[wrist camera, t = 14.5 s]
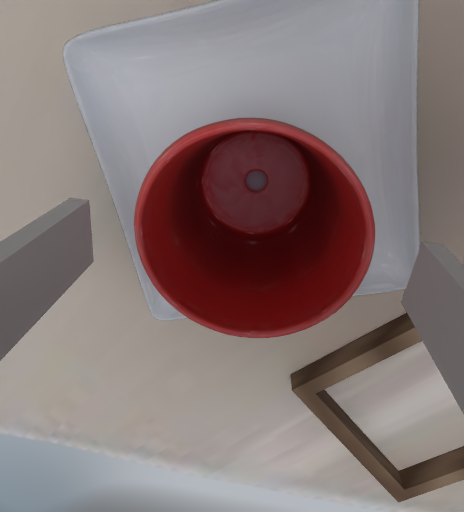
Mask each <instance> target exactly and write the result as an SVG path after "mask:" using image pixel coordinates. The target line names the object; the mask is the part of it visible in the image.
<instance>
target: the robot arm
mask: <svg viewBox="0 0 464 512" xmlns="http://www.w3.org/2000/svg"><path fill="white" fill-rule="evenodd" d="M92 263H93V248H92V234H91V221H90V207H89V200H83V199H75V198H69V199H68V200H66V201H65V202H63V203H61V204H60V205H58V206H57V207H55V208H54V209H52V210H50V211H49V212H47V213H46V214H44V215H42V216H41V217H39V218H38V219H36V220H34V221H33V222H31V223H30V224H28V225H26V226H25V227H23V228H22V229H20V230H19V231H17V232H15V233H14V234H12V235H11V236H9V237H7V238H6V239H4V240H3V241H1V242H0V361H1V359H2V358H3V357H4V356H5V355H6V354H7V353H8V352H9V351H10V350H11V349H12V348H13V347H14V346H15V345H16V344H17V342H18V341H19V340H20V339H21V338H22V337H23V336H24V335H25V334H26V333H27V332H28V331H29V330H30V329H31V328H32V326H33V325H34V324H35V323H36V322H37V321H38V320H39V319H40V318H41V317H42V316H43V315H44V314H45V313H46V312H47V310H48V309H49V308H50V307H51V306H52V305H53V304H54V303H55V302H56V301H57V300H58V299H59V298H60V297H61V296H62V294H63V293H64V292H65V291H66V290H67V289H68V288H69V287H70V286H71V285H72V284H73V283H74V282H75V281H76V280H77V279H78V277H79V276H80V275H81V274H82V273H83V272H84V271H85V270H86V269H87V268H88V267H89V266H90V265H91V264H92ZM401 303H402V304H403V306H404V308H405V310H406V312H407V313H408V315H409V317H410V319H411V321H412V322H413V324H414V326H415V328H416V330H417V331H418V333H419V335H420V337H421V339H422V340H423V342H424V344H425V346H426V348H427V349H428V351H429V353H430V355H431V356H432V358H433V360H434V362H435V364H436V365H437V367H438V369H439V371H440V373H441V374H442V376H443V378H444V380H445V382H446V383H447V385H448V387H449V389H450V391H451V392H452V394H453V396H454V398H455V400H456V401H457V403H458V405H459V407H460V409H461V410H462V412H463V414H464V266H463V265H462V264H461V263H460V262H459V261H458V260H457V259H456V258H455V257H454V256H453V255H452V254H451V253H450V252H449V251H448V250H447V249H446V248H445V247H444V246H443V245H442V244H435V243H427V242H422V244H421V247H420V249H419V252H418V255H417V258H416V261H415V264H414V267H413V269H412V272H411V275H410V278H409V281H408V284H407V287H406V290H405V292H404V295H403V298H402V301H401Z"/></svg>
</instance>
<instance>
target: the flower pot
mask: <svg viewBox="0 0 464 512" xmlns="http://www.w3.org/2000/svg"><path fill="white" fill-rule="evenodd" d="M134 231H135V240H136V246H137V250H138V253H139V257H140V260H141V262H142V265H143V267H144V269H145V271H146V273H147V275H148V277H149V279H150V280H151V282H152V284H153V285H154V287H155V288H156V289H157V291H158V292H159V293H160V294H161V296H162V297H163V298H164V299H165V300H166V301H167V302H168V303H169V304H170V305H171V306H173V307H174V308H175V309H176V310H177V311H179V312H180V313H182V314H183V315H184V316H186V317H188V318H189V319H191V320H193V321H194V322H196V323H198V324H200V325H203V326H205V327H207V328H209V329H212V330H215V331H218V332H221V333H224V334H228V335H233V336H239V337H248V338H270V337H278V336H284V335H289V334H292V333H295V332H299V331H302V330H304V329H307V328H309V327H311V326H313V325H316V324H317V323H319V322H321V321H323V320H325V319H326V318H328V317H329V316H331V315H332V314H334V313H335V312H336V311H338V310H339V309H340V308H341V307H342V306H343V305H344V304H345V303H346V302H347V301H348V300H349V299H350V298H351V297H352V295H353V294H354V293H355V292H356V290H357V289H358V288H359V286H360V284H361V283H362V281H363V279H364V277H365V275H366V273H367V271H368V269H369V266H370V263H371V260H372V256H373V251H374V244H375V222H374V216H373V211H372V207H371V203H370V201H369V198H368V196H367V193H366V191H365V188H364V187H363V185H362V183H361V181H360V179H359V178H358V176H357V175H356V173H355V172H354V170H353V169H352V168H351V167H350V165H349V164H348V163H347V162H346V161H345V160H344V158H343V157H342V156H341V155H340V154H338V153H337V152H336V151H335V150H334V149H333V148H332V147H330V146H329V145H328V144H326V143H325V142H324V141H322V140H321V139H319V138H317V137H316V136H314V135H312V134H311V133H309V132H307V131H305V130H303V129H300V128H298V127H296V126H293V125H290V124H287V123H285V122H281V121H277V120H271V119H266V118H236V119H229V120H223V121H219V122H215V123H211V124H208V125H205V126H202V127H199V128H197V129H195V130H193V131H191V132H189V133H187V134H185V135H183V136H182V137H180V138H179V139H177V140H176V141H174V142H173V143H172V144H171V145H170V146H169V147H167V148H166V149H165V150H164V151H163V152H162V154H161V155H160V156H159V157H158V158H157V159H156V161H155V162H154V163H153V165H152V166H151V168H150V169H149V171H148V173H147V174H146V176H145V178H144V181H143V183H142V185H141V188H140V191H139V194H138V197H137V201H136V206H135V214H134Z"/></svg>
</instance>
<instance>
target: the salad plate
mask: <svg viewBox="0 0 464 512" xmlns="http://www.w3.org/2000/svg"><path fill="white" fill-rule="evenodd" d="M418 24H419V0H215V1H212V2H208V3H204V4H200V5H196V6H192V7H188V8H184V9H180V10H175V11H171V12H166V13H162V14H158V15H154V16H150V17H145V18H141V19H136V20H132V21H128V22H123V23H119V24H114V25H110V26H105V27H101V28H98V29H94V30H91V31H88V32H85V33H82V34H79V35H77V36H75V37H74V38H72V39H70V40H69V41H68V42H67V43H66V44H65V45H64V48H63V60H64V64H65V68H66V71H67V74H68V77H69V81H70V84H71V87H72V90H73V93H74V95H75V98H76V101H77V104H78V106H79V109H80V112H81V115H82V117H83V120H84V123H85V125H86V128H87V131H88V133H89V136H90V139H91V141H92V144H93V147H94V149H95V152H96V155H97V158H98V160H99V163H100V166H101V169H102V171H103V174H104V177H105V180H106V182H107V185H108V188H109V191H110V194H111V196H112V199H113V202H114V205H115V208H116V211H117V214H118V217H119V220H120V222H121V226H122V229H123V232H124V234H125V237H126V240H127V243H128V247H129V250H130V253H131V256H132V259H133V262H134V265H135V268H136V271H137V274H138V278H139V281H140V284H141V287H142V290H143V293H144V296H145V299H146V301H147V304H148V307H149V310H150V312H151V314H152V315H153V317H154V318H155V319H158V320H161V321H167V320H176V319H184V318H188V317H186V316H184V315H183V314H182V313H180V312H179V311H177V310H176V309H175V308H174V307H173V306H171V305H170V304H169V303H168V302H167V301H166V300H165V299H164V298H163V297H162V296H161V294H160V293H159V292H158V291H157V289H156V288H155V287H154V285H153V284H152V282H151V280H150V279H149V277H148V275H147V273H146V271H145V269H144V267H143V265H142V262H141V260H140V257H139V253H138V250H137V246H136V240H135V231H134V214H135V206H136V201H137V197H138V194H139V191H140V188H141V185H142V183H143V181H144V178H145V176H146V174H147V173H148V171H149V169H150V168H151V166H152V165H153V163H154V162H155V161H156V159H157V158H158V157H159V156H160V155H161V154H162V152H163V151H164V150H165V149H166V148H167V147H169V146H170V145H171V144H172V143H173V142H174V141H176V140H177V139H179V138H180V137H182V136H183V135H185V134H187V133H189V132H191V131H193V130H195V129H197V128H199V127H202V126H205V125H208V124H211V123H215V122H219V121H223V120H229V119H236V118H266V119H271V120H277V121H281V122H285V123H287V124H290V125H293V126H296V127H298V128H300V129H303V130H305V131H307V132H309V133H311V134H312V135H314V136H316V137H317V138H319V139H321V140H322V141H324V142H325V143H326V144H328V145H329V146H330V147H332V148H333V149H334V150H335V151H336V152H337V153H338V154H340V155H341V156H342V157H343V158H344V160H345V161H346V162H347V163H348V164H349V165H350V167H351V168H352V169H353V170H354V172H355V173H356V175H357V176H358V178H359V179H360V181H361V183H362V185H363V187H364V188H365V191H366V193H367V196H368V198H369V201H370V203H371V207H372V211H373V216H374V222H375V244H374V251H373V256H372V260H371V263H370V266H369V269H368V271H367V273H366V275H365V277H364V279H363V281H362V283H361V284H360V286H359V288H358V289H357V290H356V292H355V293H354V294H353V295H352V296H358V295H367V294H376V293H383V292H390V291H396V290H402V289H406V287H407V284H408V281H409V278H410V275H411V272H412V269H413V267H414V264H415V261H416V258H417V255H418V252H419V249H420V228H419V197H418V169H417V74H418Z"/></svg>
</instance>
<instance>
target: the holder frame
mask: <svg viewBox="0 0 464 512" xmlns="http://www.w3.org/2000/svg"><path fill="white" fill-rule="evenodd" d="M420 341H422V339H421V337H420V335H419V333H418V331H417V330H416V328H415V326H414V324H413V322H412V321H411V319H410V317H409V315H408V313H406V314H404V315H402V316H400V317H399V318H397V319H395V320H393V321H391V322H389V323H387V324H385V325H384V326H382V327H380V328H378V329H376V330H374V331H372V332H370V333H368V334H367V335H365V336H363V337H361V338H359V339H357V340H355V341H353V342H351V343H350V344H348V345H346V346H344V347H342V348H340V349H338V350H336V351H334V352H333V353H331V354H329V355H327V356H325V357H323V358H321V359H319V360H317V361H316V362H314V363H312V364H310V365H308V366H306V367H304V368H302V369H300V370H299V371H297V372H295V373H293V374H291V384H292V391H293V392H294V393H295V394H296V395H297V396H298V397H299V398H300V399H301V400H302V402H303V403H304V404H305V405H306V406H307V407H308V408H309V409H310V410H311V411H312V412H313V413H314V414H315V415H316V416H317V417H318V418H319V419H320V420H321V421H322V423H323V424H324V425H325V426H326V427H327V428H328V429H329V430H330V431H331V432H332V433H333V434H334V435H335V436H336V437H337V438H338V439H339V440H340V441H341V443H342V444H343V445H344V446H345V447H346V448H347V449H348V450H349V451H350V452H351V453H352V454H353V455H354V456H355V457H356V458H357V459H358V460H359V461H360V462H361V464H362V465H363V466H364V467H365V468H366V469H367V470H368V471H369V472H370V473H371V474H372V475H373V476H374V477H375V478H376V479H377V480H378V481H379V482H380V484H381V485H382V486H383V487H384V488H385V489H386V490H387V491H388V492H389V493H390V494H391V495H392V496H393V497H394V498H395V499H396V500H397V501H398V502H401V501H404V500H407V499H410V498H412V497H415V496H418V495H421V494H424V493H427V492H430V491H432V490H435V489H438V488H441V487H444V486H447V485H450V484H452V483H455V482H458V481H461V480H464V447H462V448H459V449H456V450H454V451H451V452H448V453H446V454H443V455H441V456H438V457H435V458H433V459H430V460H427V461H425V462H422V463H419V464H417V465H414V466H412V467H409V468H406V469H404V470H401V471H398V470H397V469H396V468H395V467H394V466H393V465H392V464H391V463H390V462H389V460H388V459H387V458H386V457H385V456H384V455H383V454H382V453H381V452H380V451H379V449H378V448H377V447H376V446H375V445H374V444H373V443H372V442H371V441H370V440H369V438H368V437H367V436H366V435H365V434H364V433H363V432H362V431H361V430H360V429H359V427H358V426H357V425H356V424H355V423H354V422H353V421H352V420H351V419H350V418H349V417H348V415H347V414H346V413H345V412H344V411H343V410H342V409H341V408H340V407H339V406H338V404H337V403H336V402H335V401H334V400H333V399H332V398H331V397H330V396H329V395H328V393H327V392H326V391H325V390H324V389H326V388H328V387H330V386H332V385H334V384H336V383H338V382H340V381H342V380H344V379H346V378H348V377H350V376H352V375H354V374H356V373H358V372H360V371H362V370H364V369H366V368H368V367H370V366H372V365H374V364H376V363H378V362H380V361H382V360H384V359H386V358H388V357H390V356H392V355H394V354H396V353H398V352H400V351H402V350H404V349H406V348H408V347H410V346H412V345H414V344H416V343H418V342H420Z"/></svg>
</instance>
